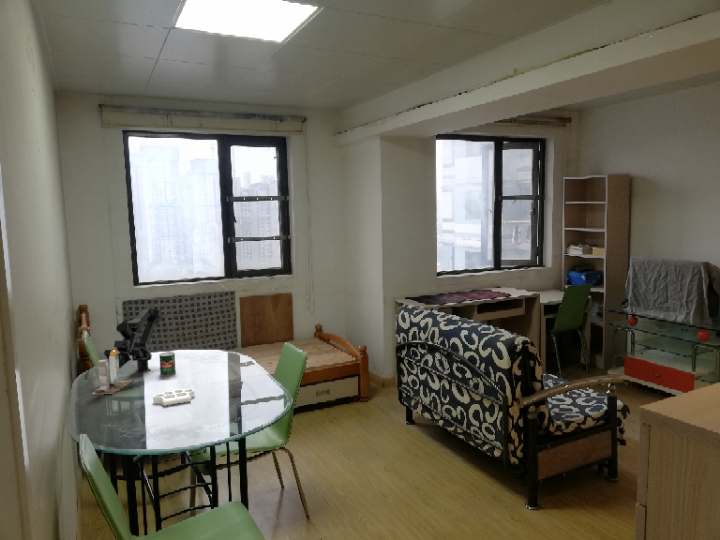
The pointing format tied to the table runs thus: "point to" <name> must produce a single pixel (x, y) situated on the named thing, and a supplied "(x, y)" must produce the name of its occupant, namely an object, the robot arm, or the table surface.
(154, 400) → the white piece
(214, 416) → the table surface
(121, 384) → the bolt board
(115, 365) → the sliding leg
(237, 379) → the table surface
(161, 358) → the canned tomato
